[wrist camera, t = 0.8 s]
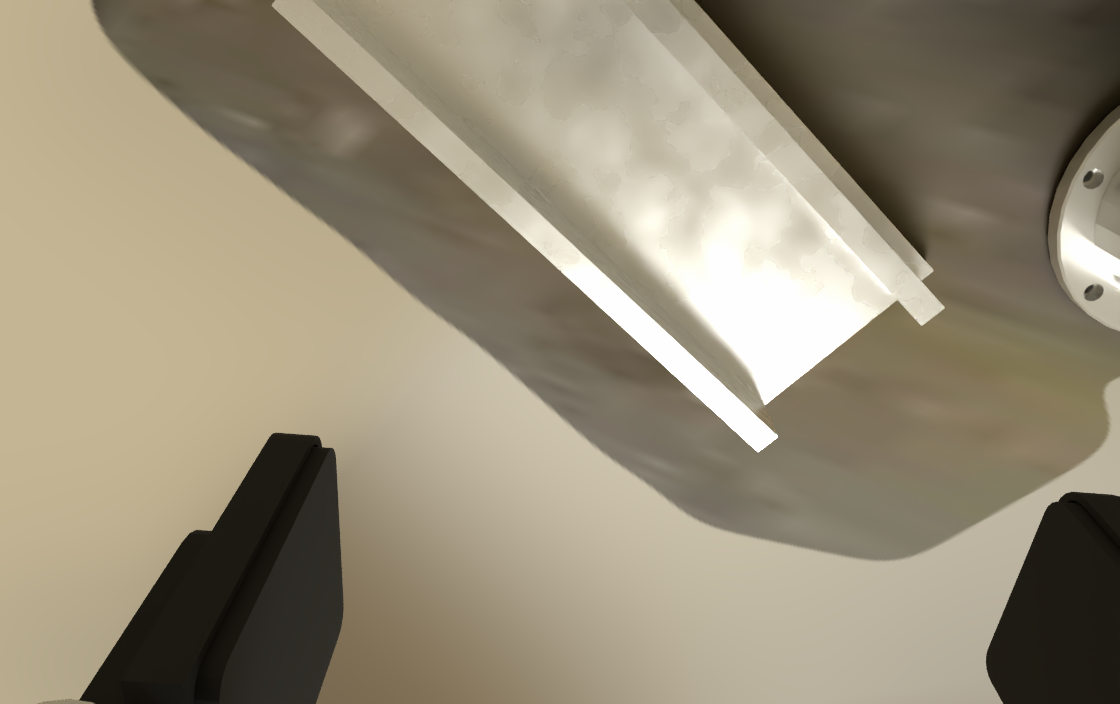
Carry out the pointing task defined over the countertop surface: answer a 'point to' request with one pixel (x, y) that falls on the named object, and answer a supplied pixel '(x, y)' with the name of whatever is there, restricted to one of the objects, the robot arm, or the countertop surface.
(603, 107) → the aluminium track
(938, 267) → the countertop surface
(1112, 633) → the robot arm
